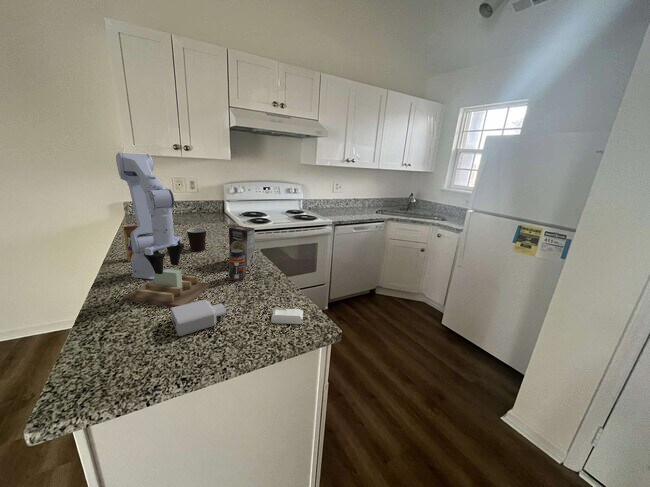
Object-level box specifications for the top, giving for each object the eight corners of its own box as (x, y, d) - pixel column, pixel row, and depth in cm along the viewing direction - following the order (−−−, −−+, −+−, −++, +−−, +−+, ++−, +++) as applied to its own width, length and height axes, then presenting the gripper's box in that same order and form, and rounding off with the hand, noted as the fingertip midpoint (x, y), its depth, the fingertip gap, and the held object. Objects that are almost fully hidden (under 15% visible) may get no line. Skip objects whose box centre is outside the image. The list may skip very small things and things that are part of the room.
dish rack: (122, 300, 84) (120, 290, 83) (159, 279, 99) (158, 270, 98) (182, 308, 82) (181, 298, 81) (210, 286, 97) (210, 277, 96)
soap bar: (302, 325, 79) (302, 317, 78) (271, 324, 78) (271, 315, 77) (302, 316, 83) (303, 308, 83) (273, 314, 83) (273, 307, 82)
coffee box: (229, 263, 119) (227, 227, 114) (237, 258, 125) (236, 224, 120) (247, 266, 117) (246, 230, 112) (255, 261, 123) (254, 227, 118)
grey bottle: (236, 320, 78) (179, 338, 69) (225, 306, 85) (171, 321, 76) (236, 306, 77) (177, 322, 68) (224, 293, 84) (170, 306, 74)
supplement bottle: (240, 282, 102) (240, 254, 98) (226, 280, 103) (225, 251, 99) (248, 276, 107) (247, 249, 104) (234, 274, 108) (233, 247, 105)
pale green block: (155, 290, 89) (153, 270, 87) (160, 286, 92) (158, 267, 90) (178, 293, 88) (176, 273, 86) (182, 289, 91) (181, 270, 89)
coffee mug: (202, 253, 128) (201, 232, 125) (184, 251, 128) (183, 231, 125) (212, 246, 139) (212, 227, 137) (196, 244, 139) (195, 226, 137)
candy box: (127, 262, 112) (122, 226, 108) (127, 258, 115) (122, 224, 111) (153, 259, 117) (148, 224, 113) (152, 255, 121) (148, 222, 116)
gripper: (158, 235, 77) (163, 279, 81) (189, 224, 91) (191, 262, 94) (135, 233, 77) (141, 276, 81) (169, 222, 91) (173, 260, 95)
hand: (167, 268), depth 88 cm, fingers open, 7 cm apart
